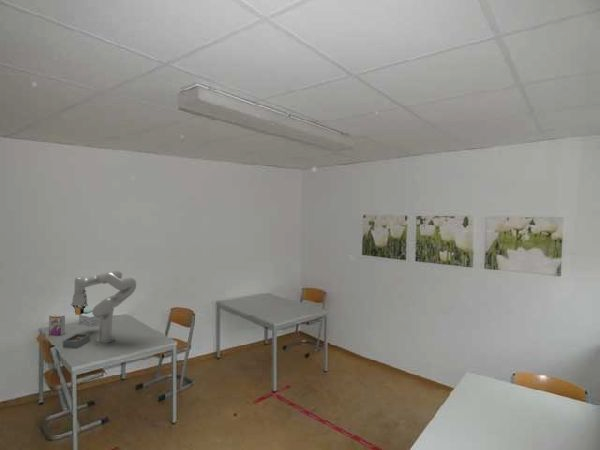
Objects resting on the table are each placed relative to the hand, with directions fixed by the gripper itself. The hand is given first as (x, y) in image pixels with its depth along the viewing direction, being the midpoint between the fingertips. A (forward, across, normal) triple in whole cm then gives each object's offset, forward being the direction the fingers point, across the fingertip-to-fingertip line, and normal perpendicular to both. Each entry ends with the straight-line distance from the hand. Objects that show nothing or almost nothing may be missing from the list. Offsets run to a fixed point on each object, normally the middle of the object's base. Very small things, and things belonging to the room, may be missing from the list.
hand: (79, 313), depth 297 cm
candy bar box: (+22, +24, -6) cm, 33 cm away
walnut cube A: (+20, -8, +12) cm, 25 cm away
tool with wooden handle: (+2, 0, -8) cm, 9 cm away
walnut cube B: (+20, -8, +18) cm, 28 cm away
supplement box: (+22, +14, -38) cm, 46 cm away
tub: (+21, -8, +14) cm, 27 cm away
